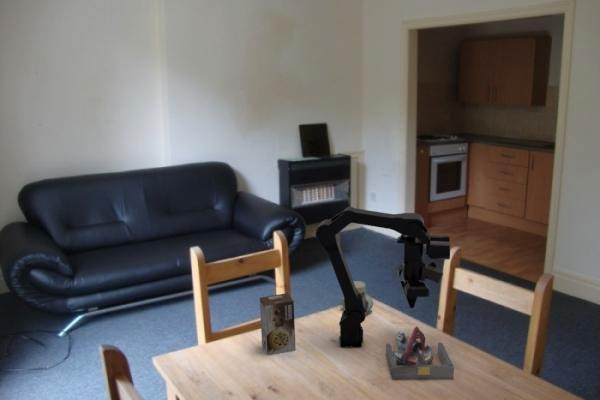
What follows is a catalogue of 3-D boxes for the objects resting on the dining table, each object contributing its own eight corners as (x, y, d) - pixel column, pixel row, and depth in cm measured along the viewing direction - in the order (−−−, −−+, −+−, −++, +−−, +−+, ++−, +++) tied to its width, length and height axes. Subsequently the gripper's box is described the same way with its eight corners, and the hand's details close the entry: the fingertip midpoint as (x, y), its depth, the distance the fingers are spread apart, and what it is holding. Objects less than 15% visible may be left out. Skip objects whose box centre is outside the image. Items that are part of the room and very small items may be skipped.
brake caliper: (427, 370, 152) (404, 330, 154) (398, 381, 159) (376, 343, 161) (446, 353, 160) (424, 316, 163) (417, 365, 167) (397, 329, 170)
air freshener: (338, 308, 197) (337, 282, 195) (356, 303, 202) (356, 276, 200) (358, 319, 189) (358, 291, 186) (376, 313, 193) (377, 286, 191)
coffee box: (289, 341, 175) (288, 292, 171) (296, 350, 169) (294, 300, 165) (261, 346, 172) (259, 296, 168) (266, 356, 166) (264, 305, 162)
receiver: (392, 380, 152) (393, 368, 151) (385, 354, 166) (385, 343, 165) (453, 379, 151) (454, 368, 151) (441, 353, 165) (442, 342, 164)
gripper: (448, 268, 153) (446, 321, 157) (434, 246, 172) (432, 294, 175) (407, 268, 154) (406, 321, 157) (397, 247, 172) (396, 295, 175)
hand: (411, 307), depth 166 cm, fingers closed
